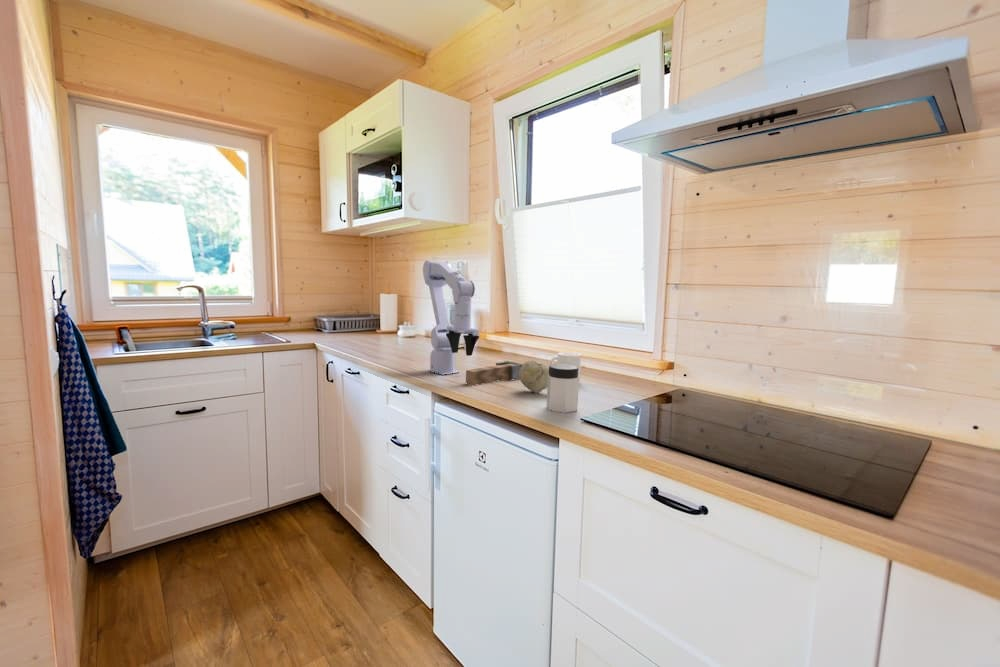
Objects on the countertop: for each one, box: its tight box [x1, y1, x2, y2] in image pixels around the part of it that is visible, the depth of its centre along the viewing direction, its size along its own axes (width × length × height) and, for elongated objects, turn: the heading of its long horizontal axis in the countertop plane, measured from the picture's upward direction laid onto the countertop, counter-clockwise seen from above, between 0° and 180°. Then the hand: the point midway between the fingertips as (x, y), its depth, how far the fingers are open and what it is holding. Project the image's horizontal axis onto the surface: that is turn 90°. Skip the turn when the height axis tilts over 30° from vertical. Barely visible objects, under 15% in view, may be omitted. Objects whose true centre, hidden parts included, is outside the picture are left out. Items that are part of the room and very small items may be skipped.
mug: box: [549, 351, 582, 382], centre depth 159 cm, size 12×8×10 cm
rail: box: [465, 363, 516, 386], centre depth 157 cm, size 22×4×5 cm, turn 136°
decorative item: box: [518, 360, 550, 394], centre depth 142 cm, size 12×9×10 cm
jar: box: [546, 363, 580, 414], centre depth 123 cm, size 9×8×12 cm
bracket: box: [495, 360, 524, 380], centre depth 164 cm, size 10×7×5 cm
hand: (461, 354), depth 155 cm, fingers open, 7 cm apart
